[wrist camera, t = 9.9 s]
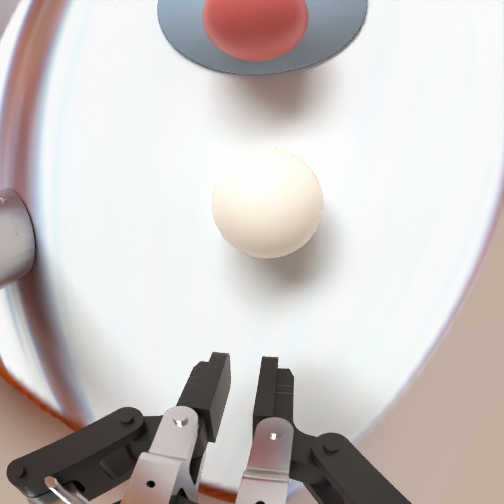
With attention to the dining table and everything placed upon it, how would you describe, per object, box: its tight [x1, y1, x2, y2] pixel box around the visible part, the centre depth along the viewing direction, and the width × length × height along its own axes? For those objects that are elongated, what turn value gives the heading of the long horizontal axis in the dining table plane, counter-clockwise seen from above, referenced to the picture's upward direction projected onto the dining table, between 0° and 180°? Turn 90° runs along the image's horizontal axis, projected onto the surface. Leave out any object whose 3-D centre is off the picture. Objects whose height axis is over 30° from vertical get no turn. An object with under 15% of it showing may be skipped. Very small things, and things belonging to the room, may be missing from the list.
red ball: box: [202, 0, 309, 61], centre depth 11 cm, size 6×6×6 cm
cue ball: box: [212, 148, 323, 258], centre depth 14 cm, size 6×6×6 cm
